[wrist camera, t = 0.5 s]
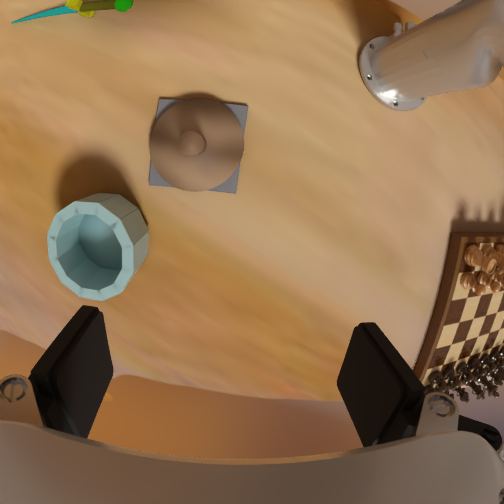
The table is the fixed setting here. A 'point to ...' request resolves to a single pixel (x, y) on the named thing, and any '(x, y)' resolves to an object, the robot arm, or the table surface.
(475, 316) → the chess set
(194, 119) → the lid
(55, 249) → the bowl
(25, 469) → the robot arm
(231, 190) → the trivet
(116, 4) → the toy sword
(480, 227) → the table surface
